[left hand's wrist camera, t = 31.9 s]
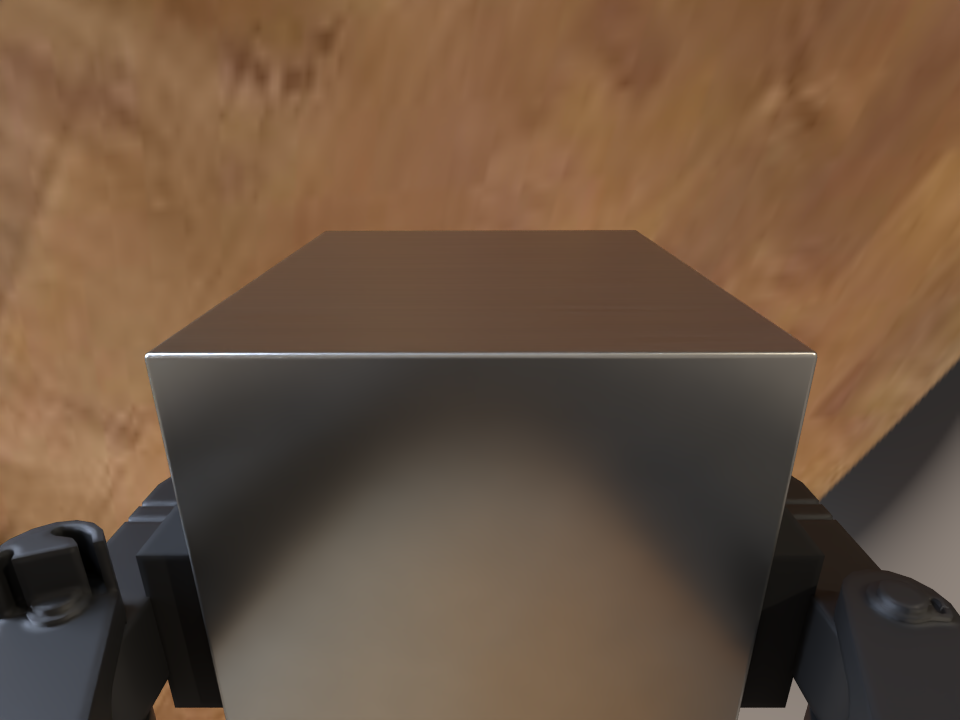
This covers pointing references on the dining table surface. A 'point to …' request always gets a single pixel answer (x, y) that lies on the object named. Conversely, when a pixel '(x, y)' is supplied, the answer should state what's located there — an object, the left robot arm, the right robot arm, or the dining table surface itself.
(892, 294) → the dining table surface
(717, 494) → the metallic grey cube
